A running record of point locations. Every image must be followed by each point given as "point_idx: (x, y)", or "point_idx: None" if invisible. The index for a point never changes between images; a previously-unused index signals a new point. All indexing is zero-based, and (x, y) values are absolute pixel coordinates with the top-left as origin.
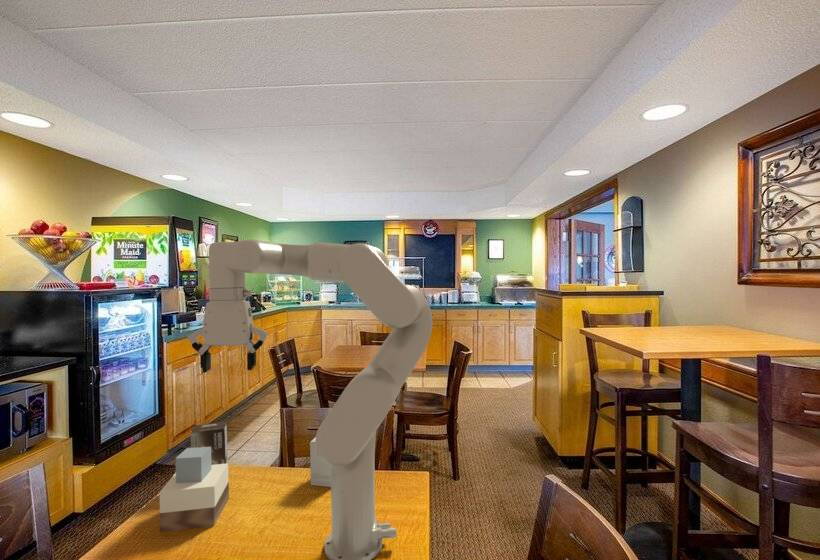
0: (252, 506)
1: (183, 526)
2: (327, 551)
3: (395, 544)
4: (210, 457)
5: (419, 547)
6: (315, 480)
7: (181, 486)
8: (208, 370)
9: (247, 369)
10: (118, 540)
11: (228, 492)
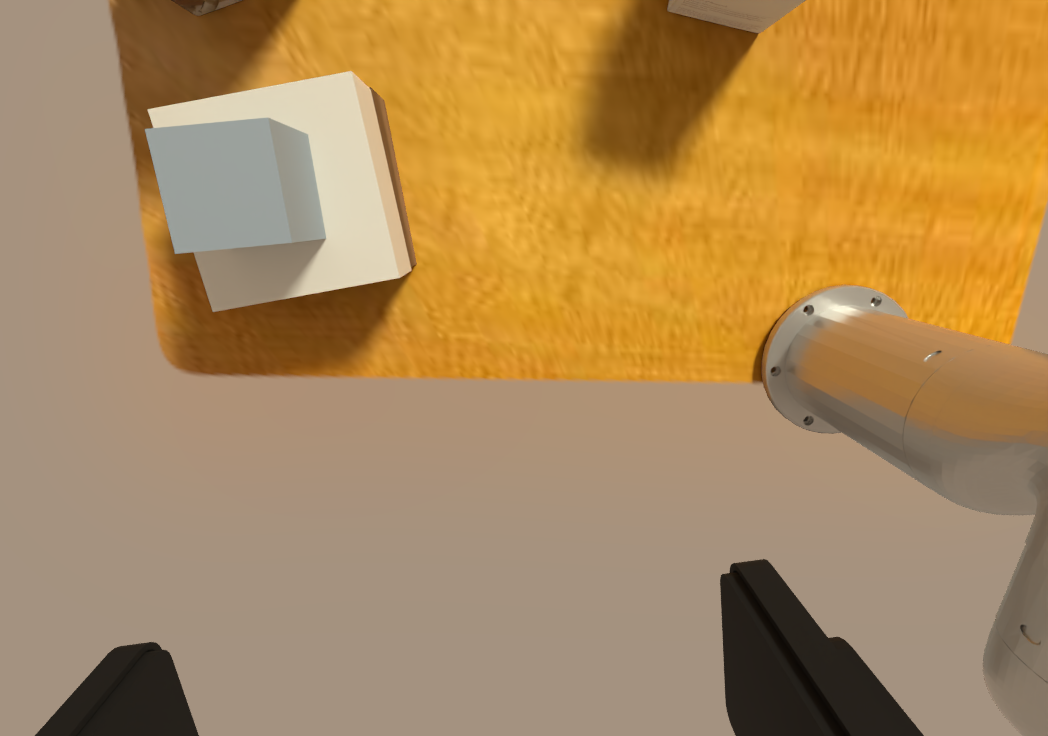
0: (492, 157)
1: None
2: (776, 400)
3: None
4: (289, 135)
5: None
6: (693, 10)
7: (269, 274)
8: (192, 719)
9: (730, 721)
10: (173, 323)
11: (380, 101)
